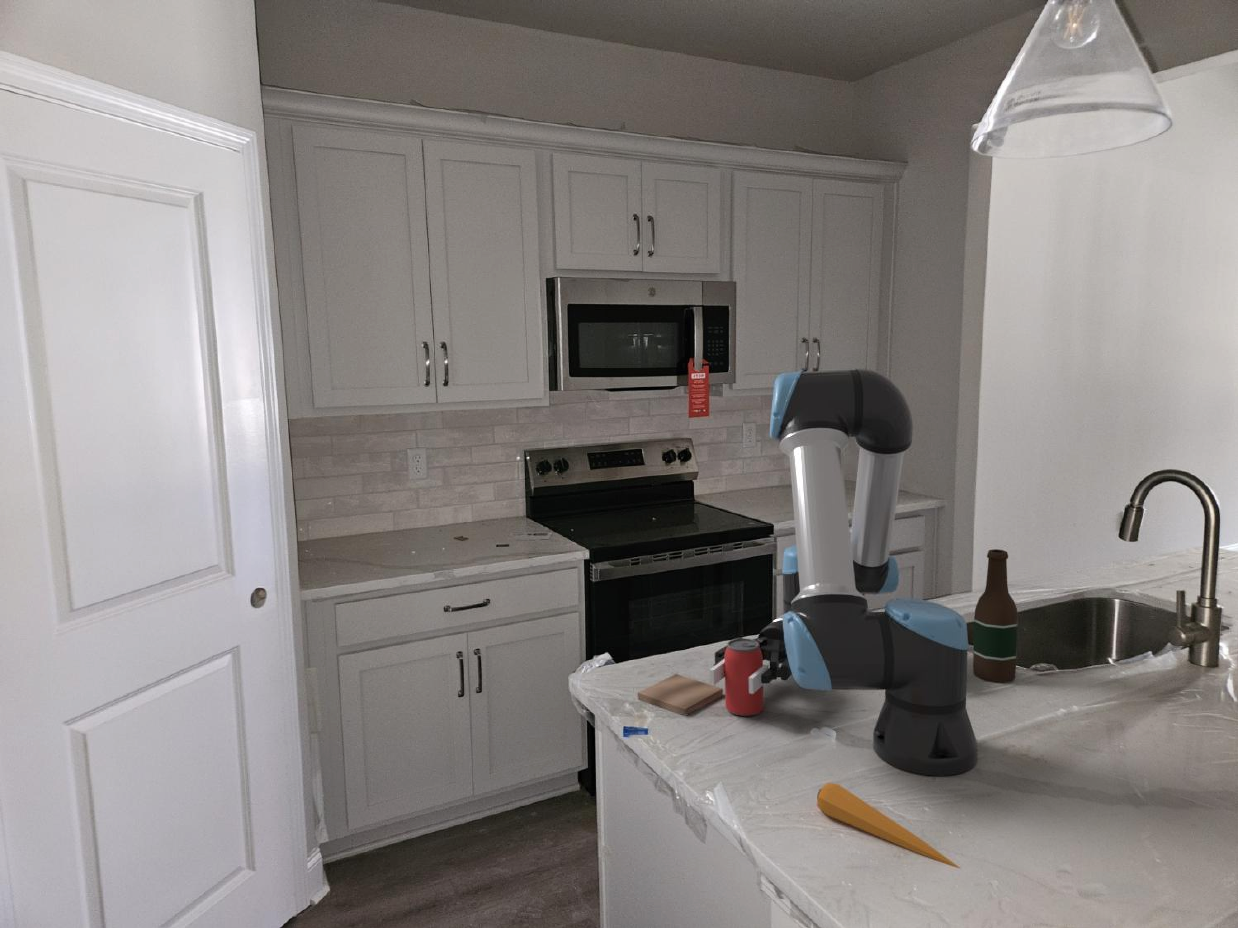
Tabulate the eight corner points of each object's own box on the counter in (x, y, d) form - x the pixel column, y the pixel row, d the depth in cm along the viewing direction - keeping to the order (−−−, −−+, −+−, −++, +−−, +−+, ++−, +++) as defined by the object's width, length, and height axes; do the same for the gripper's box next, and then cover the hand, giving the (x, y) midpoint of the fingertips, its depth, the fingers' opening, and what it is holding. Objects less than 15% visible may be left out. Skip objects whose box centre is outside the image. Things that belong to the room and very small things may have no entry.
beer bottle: (984, 664, 159) (987, 543, 156) (1024, 675, 153) (1028, 550, 150) (964, 675, 155) (966, 551, 151) (1005, 687, 149) (1008, 558, 145)
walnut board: (722, 694, 150) (722, 688, 150) (685, 715, 142) (684, 709, 142) (676, 679, 158) (676, 673, 157) (638, 698, 150) (637, 692, 150)
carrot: (813, 816, 113) (809, 793, 111) (831, 793, 115) (827, 771, 113) (956, 896, 98) (954, 872, 96) (973, 868, 101) (971, 844, 99)
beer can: (762, 718, 140) (761, 651, 138) (724, 716, 141) (722, 650, 140) (764, 702, 146) (763, 637, 145) (726, 700, 148) (725, 636, 146)
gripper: (833, 666, 153) (785, 714, 134) (737, 648, 164) (681, 691, 145) (833, 627, 152) (785, 670, 133) (736, 612, 162) (680, 650, 144)
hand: (731, 681), depth 139 cm, fingers closed on beer can, 6 cm apart
